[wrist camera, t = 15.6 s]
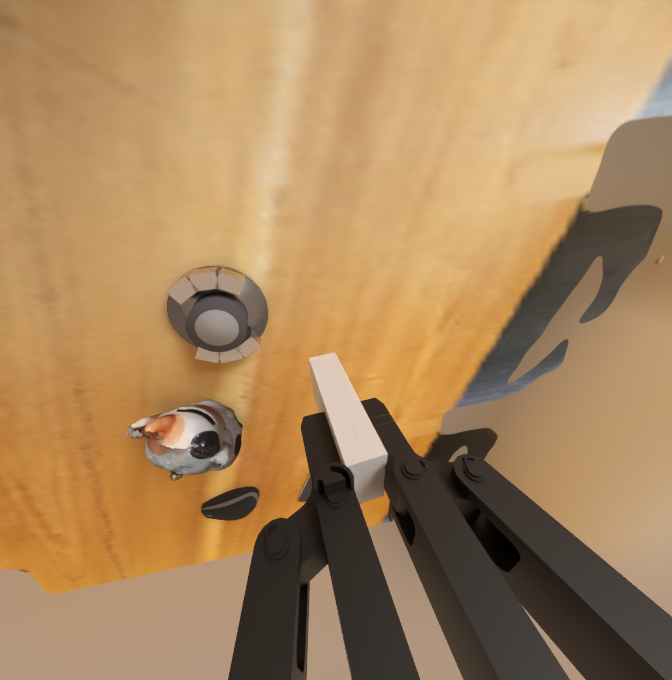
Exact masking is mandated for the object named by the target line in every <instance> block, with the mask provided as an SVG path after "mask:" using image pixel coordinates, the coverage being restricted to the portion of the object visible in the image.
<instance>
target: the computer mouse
mask: <svg viewBox="0 0 672 680" xmlns="http://www.w3.org/2000/svg"><path fill="white" fill-rule="evenodd" d="M258 499H259V491H258V489H257V488H255V487H244V488H238V489H234V490H231V491H228V492H226V493H223V494H221V495H219V496H217V497H214V498H212V499H211V500H209V501H207V502H205V503H204V504H203V505H202V509H201V511H202V513H203V515H204V516H205V517H207V518H211V519H219V520H238V519H241V518H243V517H245V516H247V515H248V514H249V513H250V512H251V511H252V510H253V509H254V508H255V506H256V504H257V502H258Z"/></svg>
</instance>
